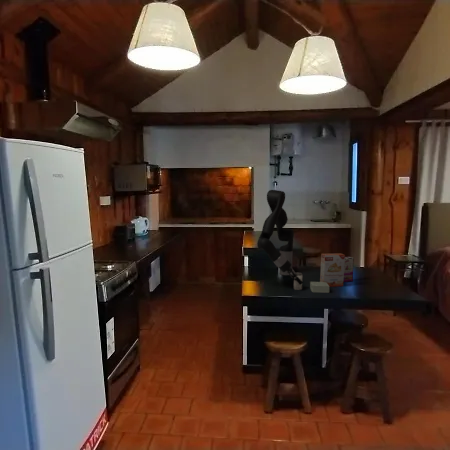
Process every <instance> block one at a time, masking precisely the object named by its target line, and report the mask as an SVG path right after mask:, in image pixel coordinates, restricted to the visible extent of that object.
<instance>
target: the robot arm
mask: <svg viewBox="0 0 450 450" xmlns="http://www.w3.org/2000/svg"><path fill="white" fill-rule="evenodd" d="M266 201H267V205H268V206H269V209H270V211H271V213H270V214H269V215H268V216H267V217H266V218H265V220H264V223H263V225H262V230H261V233H260V235H259V237H258V241H257V248H258V249H259V250H260V251H265V253H266V254H267V257H268V258H269V259H270V260H271V261H272V262H273V263H274V265H275V266H276V267H277V268H278V269H279V270H278V271H279V272H278V273H279V275H281V276H290V278H292V279H293V281H294V280H295V281H297V282H298V283H299V284H300V285H301V284H302V285H303V280H302V281H301V280H300V279H299V277H298V276H297V274H296V271H295V270H294V269H293V254H294V253H293V249H294V233H295V232H294V229H292V228H284V227H285V225H286V224H287V223H288V221H289V218H288V214H287V212H286V210H285V209H284V208H283V206H284V204H285V201H286V193H285V192H284V191H282V190H278V189H277V190H275V189H269V190H268V191H267V193H266ZM275 228H276V231H277V237H278V240H279V241H280V242H287V244H284V245H280V246H279V250H278V249H277V248H276V246H275V245H274V244H273V242H272V241H271V240H270V239H271V237H272V236H273V233H274V231H275ZM295 276H296V278H294V277H295Z"/></svg>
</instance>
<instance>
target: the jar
mask: <svg viewBox="0 0 450 450" xmlns="http://www.w3.org/2000/svg"><path fill="white" fill-rule="evenodd" d="M295 272H296V271H295ZM296 274H297V276H298V277H299V279H300V280H301V281H302V282H303V273H302V272H296ZM294 278H296V276H295V277H294ZM293 290H296V291H302V290H303V283H302V284H301V285H300V284H299V283H298V282H297V281H295V280H294V279H293Z"/></svg>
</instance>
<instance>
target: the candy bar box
mask: <svg viewBox="0 0 450 450" xmlns="http://www.w3.org/2000/svg"><path fill="white" fill-rule="evenodd" d="M354 260H355V257H353V256H345V264H344V280H343V283H348V282H349V283H350V282H353V281H354Z"/></svg>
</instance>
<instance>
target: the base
mask: <svg viewBox="0 0 450 450" xmlns="http://www.w3.org/2000/svg"><path fill="white" fill-rule="evenodd" d="M309 289H310V291H311V292H312V293H325V294H326V293H327V294H328V293H330V287H329V285H328V284H327V283H326V282H320V281H309Z"/></svg>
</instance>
